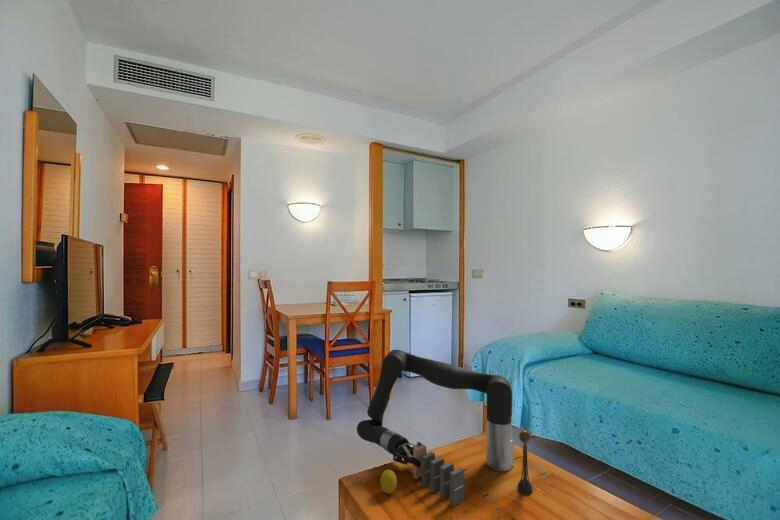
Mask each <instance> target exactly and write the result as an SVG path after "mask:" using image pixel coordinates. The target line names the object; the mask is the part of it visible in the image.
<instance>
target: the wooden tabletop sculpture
mask: <svg viewBox="0 0 780 520" xmlns="http://www.w3.org/2000/svg"><path fill="white" fill-rule="evenodd" d="M518 438H519V440H520V442H521V443H523V444H522V470H521V477H520V480H519V481H518V483H517V490H518V491H519V492H520V493H521V494H524V495H532V494H533V492H534V491H533V486H532V483H531V482H530V478H529V469H528V468H529V467H528V444H527V443H529V442H530V440H531V439H535V438H536V435H535V434H530V432H529V431H528V430H522V431H520V433H519V436H518Z"/></svg>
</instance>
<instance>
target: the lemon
mask: <svg viewBox="0 0 780 520" xmlns="http://www.w3.org/2000/svg"><path fill="white" fill-rule="evenodd" d="M379 481H380V484H379V485H380V489H381V490H382V491H383V492H384V494H385V493H386V494H387V495H390V494H392V493H393V492H394V491H395V490H396V489H397V483H398V480H397V476H396V473H395V472H394V471H393V470H391V469H386V470H384V471H383V472H382V474H381V476H380V480H379Z"/></svg>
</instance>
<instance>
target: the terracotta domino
mask: <svg viewBox="0 0 780 520" xmlns="http://www.w3.org/2000/svg"><path fill="white" fill-rule="evenodd" d="M426 453H427V445H425V444H422V445H421V446H419V447H416V448H414V449H413V456H412V457H414V458H416V459H418V460H420V461H421V466H420V467H417V466H415V465H413V464H412V467H413V468H412V471H413V472H412V477H413V478H414V479H416V480H417V479H419V478H422V456H424V455H426Z"/></svg>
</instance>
